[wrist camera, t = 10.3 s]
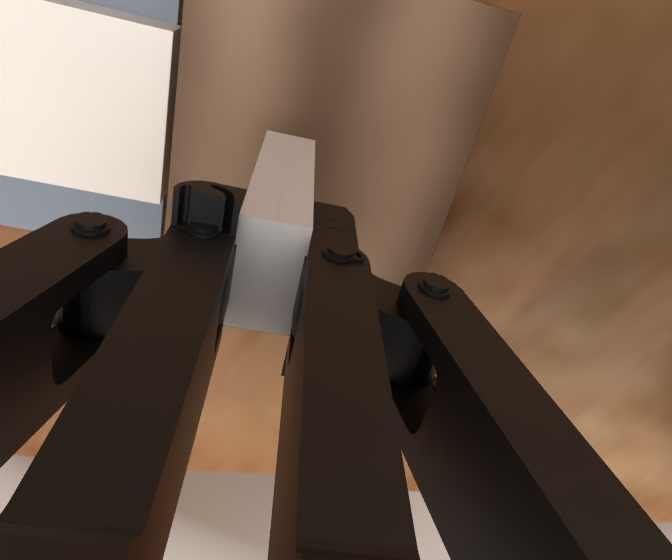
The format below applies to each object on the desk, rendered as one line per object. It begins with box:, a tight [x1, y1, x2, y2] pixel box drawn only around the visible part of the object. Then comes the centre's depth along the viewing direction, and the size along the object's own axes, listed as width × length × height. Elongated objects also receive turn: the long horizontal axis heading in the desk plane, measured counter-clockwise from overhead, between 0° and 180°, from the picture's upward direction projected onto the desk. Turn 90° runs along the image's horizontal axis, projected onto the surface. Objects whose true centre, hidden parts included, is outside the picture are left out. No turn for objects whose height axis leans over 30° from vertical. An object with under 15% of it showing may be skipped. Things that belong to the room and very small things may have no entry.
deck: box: [164, 0, 521, 286], centre depth 23 cm, size 12×14×3 cm
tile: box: [0, 0, 182, 204], centre depth 21 cm, size 10×7×2 cm
